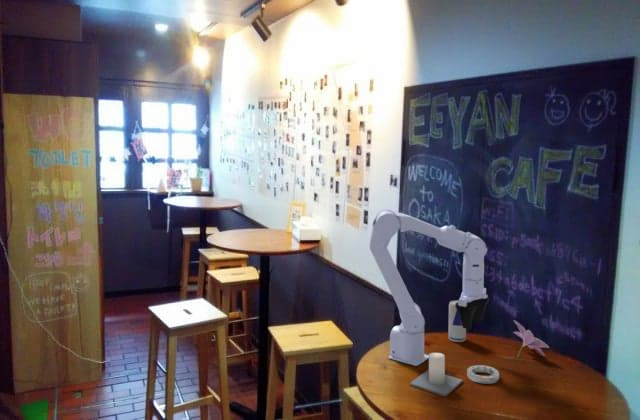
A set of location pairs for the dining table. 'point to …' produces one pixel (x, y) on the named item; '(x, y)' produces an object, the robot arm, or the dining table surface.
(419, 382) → the mat
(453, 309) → the energy drink
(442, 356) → the peg
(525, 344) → the lily
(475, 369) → the ring
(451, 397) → the dining table surface
